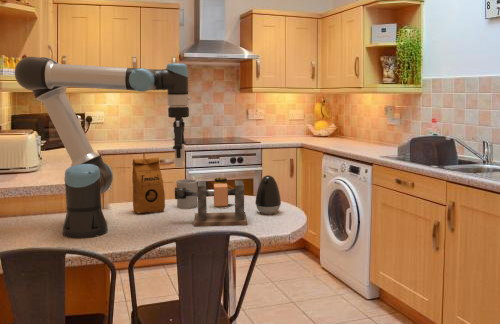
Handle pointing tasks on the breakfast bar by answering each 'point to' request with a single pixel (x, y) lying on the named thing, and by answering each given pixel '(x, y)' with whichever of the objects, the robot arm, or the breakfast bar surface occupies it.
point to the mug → (190, 200)
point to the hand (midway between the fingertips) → (180, 164)
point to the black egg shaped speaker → (268, 196)
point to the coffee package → (147, 186)
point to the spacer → (220, 195)
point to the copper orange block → (221, 181)
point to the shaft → (196, 192)
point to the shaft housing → (220, 218)
